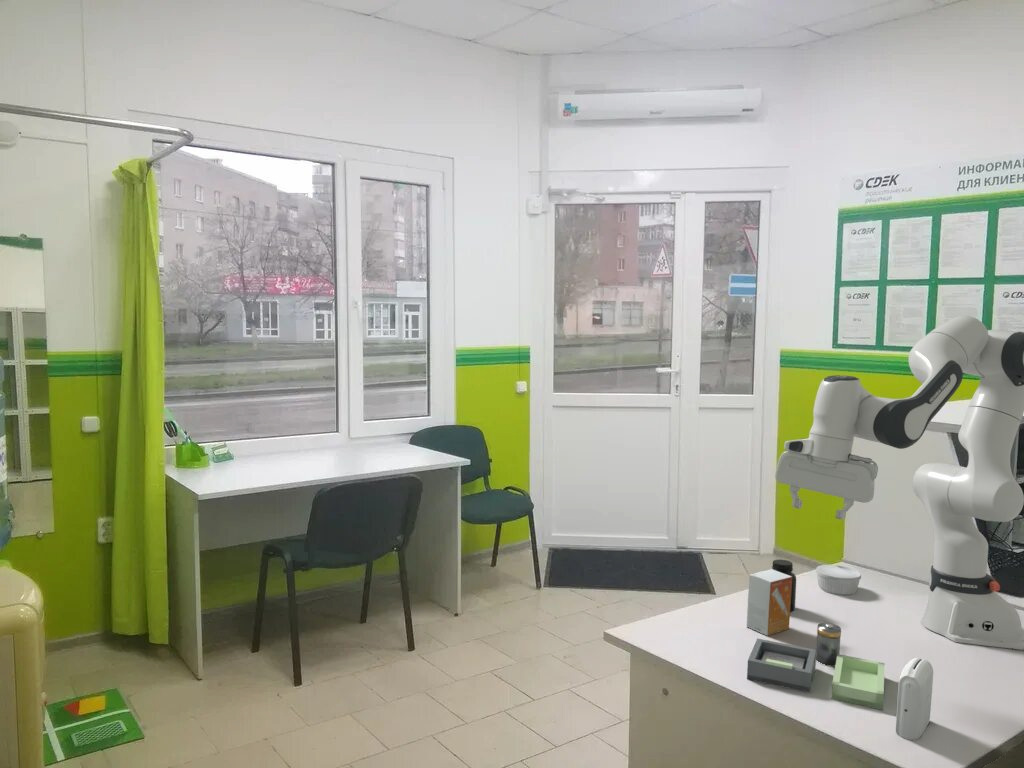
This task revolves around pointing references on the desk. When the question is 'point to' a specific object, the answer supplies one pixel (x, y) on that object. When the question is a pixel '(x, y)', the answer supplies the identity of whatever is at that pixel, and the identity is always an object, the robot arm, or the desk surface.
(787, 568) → the supplement bottle
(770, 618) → the small box
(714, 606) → the desk surface
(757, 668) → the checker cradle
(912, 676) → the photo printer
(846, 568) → the ramekin
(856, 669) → the green trough
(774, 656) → the pan
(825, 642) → the grey cell
